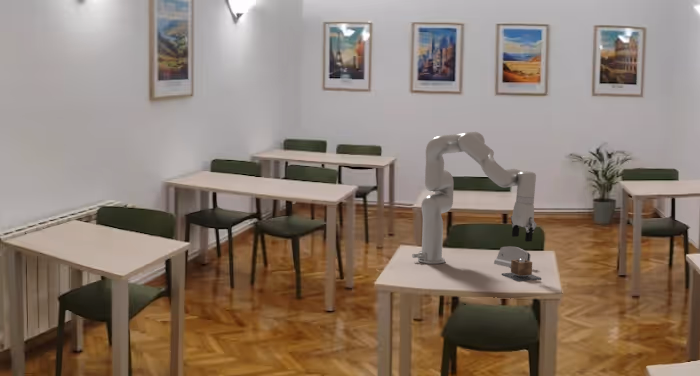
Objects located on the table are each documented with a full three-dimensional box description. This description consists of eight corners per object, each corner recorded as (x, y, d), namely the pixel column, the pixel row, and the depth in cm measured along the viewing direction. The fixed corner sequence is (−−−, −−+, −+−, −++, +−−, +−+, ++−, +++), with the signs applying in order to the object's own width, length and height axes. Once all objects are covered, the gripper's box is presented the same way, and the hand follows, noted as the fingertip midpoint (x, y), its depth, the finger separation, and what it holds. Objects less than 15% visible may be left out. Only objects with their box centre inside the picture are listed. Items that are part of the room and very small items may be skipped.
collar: (519, 275, 343) (519, 263, 342) (510, 272, 349) (511, 259, 348) (531, 274, 345) (532, 262, 345) (523, 271, 351) (523, 259, 350)
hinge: (493, 263, 372) (498, 242, 373) (498, 265, 375) (504, 245, 376) (522, 270, 360) (528, 249, 361) (528, 272, 363) (533, 251, 364)
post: (517, 281, 339) (518, 262, 338) (501, 274, 350) (502, 257, 349) (540, 279, 344) (541, 261, 343) (524, 272, 355) (525, 255, 354)
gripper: (506, 196, 349) (503, 235, 352) (529, 203, 333) (526, 243, 336) (520, 196, 352) (517, 234, 355) (544, 203, 336) (541, 242, 339)
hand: (521, 238), depth 345 cm, fingers open, 9 cm apart
